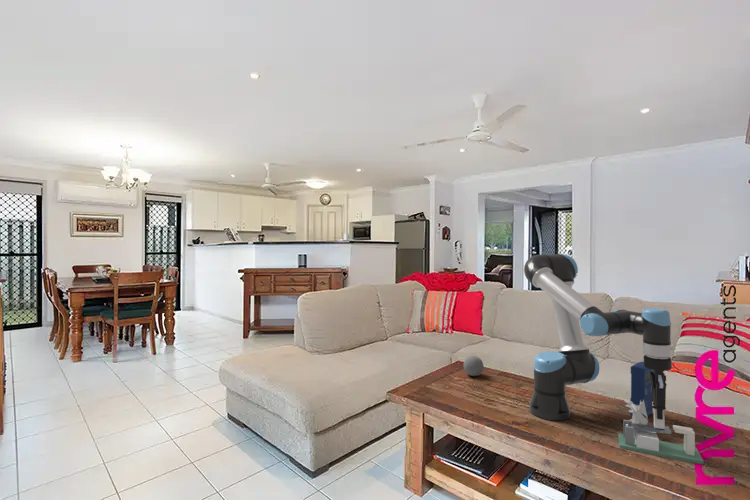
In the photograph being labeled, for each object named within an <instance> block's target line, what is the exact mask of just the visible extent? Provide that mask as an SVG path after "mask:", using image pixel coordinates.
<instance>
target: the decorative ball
mask: <svg viewBox="0 0 750 500" xmlns="http://www.w3.org/2000/svg"><path fill="white" fill-rule="evenodd" d="M484 367H485V366H484V363H483V361H482V359H481V358H480V357H479V356H476V355H470V356H467V357H466V358H465V359H464V361H463V370H464V372H465V373H466V374H467V375H469V376H471V377H478V376H480V375H481V374H482V373H483V372H484V369H485V368H484Z"/></svg>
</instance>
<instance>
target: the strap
mask: <svg viewBox="0 0 750 500" xmlns="http://www.w3.org/2000/svg"><path fill="white" fill-rule="evenodd" d="M625 426H629V427H634V430H638V431H648V432H656V434H657V433H659V434H667V435H671V434H672V431H671V427H670V426H669V425H665V429H659V428H655V427H654V424H648V425H644V424H634V423H630V422H625Z"/></svg>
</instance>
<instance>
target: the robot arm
mask: <svg viewBox="0 0 750 500" xmlns="http://www.w3.org/2000/svg"><path fill="white" fill-rule="evenodd" d="M578 271H579V268H578V263H577V262H576V260H575V259H574V258H573V257H572V256H570V255H568V254H561V253H550V254H548V253H547V254H534V255H532V256H531V257H529V258H527V260H526V262H525V263H524V267H523V272H524V276H525V278H526V279H527V281H528V282H529V283H530V284H531V285H533V287H535V288H537V289H539V288H540V289H541V290H542V291H543V292H544V293H546V294H547V295H548V296H550V298H551V301H552V302H551V303H552V307H553V312H554V317H555V322H556V327H557V332H558V338H559V343H560V347H559V349H558V350H557V351H544V352H543V351H542V352H540V353H538V354H536V355H535V357H534V358H533V360H534V361H533V362H534V363H533V392H532V393H533V394H532V395H531V399H530V401H529V406H528V407H529V408H528V409H529V412H530V413H531V414H532V415H534V416H535V417H538V418H540V419H544V420H548V421H558V422H559V421H565V420H569V419H570V418H571V407H570V405H569V401H568V398H567V396H566V390H567V389H566V386H571V385H577V384H588V383H590V382H593V381H595V380H596V379H597V377H598V376H599V373H600V363H599V360H598V358H597V357H596V356H595V355H594V354H593V353H592V352H590V348H589V347H588V346H586V345H585V343H584V339H583V336H582V332H583V333H584V334H585V335H587V336H591V337H602V336H608V335H618V334H627V333H629V334H634V335H635V334H636V335H640V336H642V354H644V355H643V362H644V366H645V367H646V368H649V369H652V372H651V371H650V377H651V387H652V411H653V425H654V427H655V428H659V429H665V426H666V422H665V410H666V409H667V408H666V397H667V396H666V394H667V375H665V373H664V372H666V371H671V370H672V367H673V362H672V358H671V357H672V350H674V346H672V342H671V334H672V333H671V330H672V329H671V326H672V323H671V315H670V312H669V311H668V310H667V309H664V308H656V307H646V308H643V309H642V312H639V311H638V312H637V311H631V310H628V309H612V311H611V312H610V311H609V312H608V311H607V312H604V311H602V310H601V309H600V308H598V307H597V306H596V305H594V304H593V303H592V302H590V301H589V300H588V299H586V297H584V296H582V295H581V294H580V293H579V292H578V291H576V290H575V289H574V288H572V287H573V285H574V284H575V279H576V277H577V276H578ZM581 329H582V330H581Z"/></svg>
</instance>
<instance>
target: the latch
mask: <svg viewBox="0 0 750 500" xmlns="http://www.w3.org/2000/svg"><path fill="white" fill-rule="evenodd" d="M672 429H673V431H674V433H677V434H683V445H684V450H685V452H686V454H688V455H693V456H694V455H695V448H696V447H695V445H696V444H695V443H696V442H695V441H696V440H695V439H696V437H695V436H696V435H695V434H696V432H695V431H694V429H693V427H687V426H681V425H675V424H673V425H672Z"/></svg>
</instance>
